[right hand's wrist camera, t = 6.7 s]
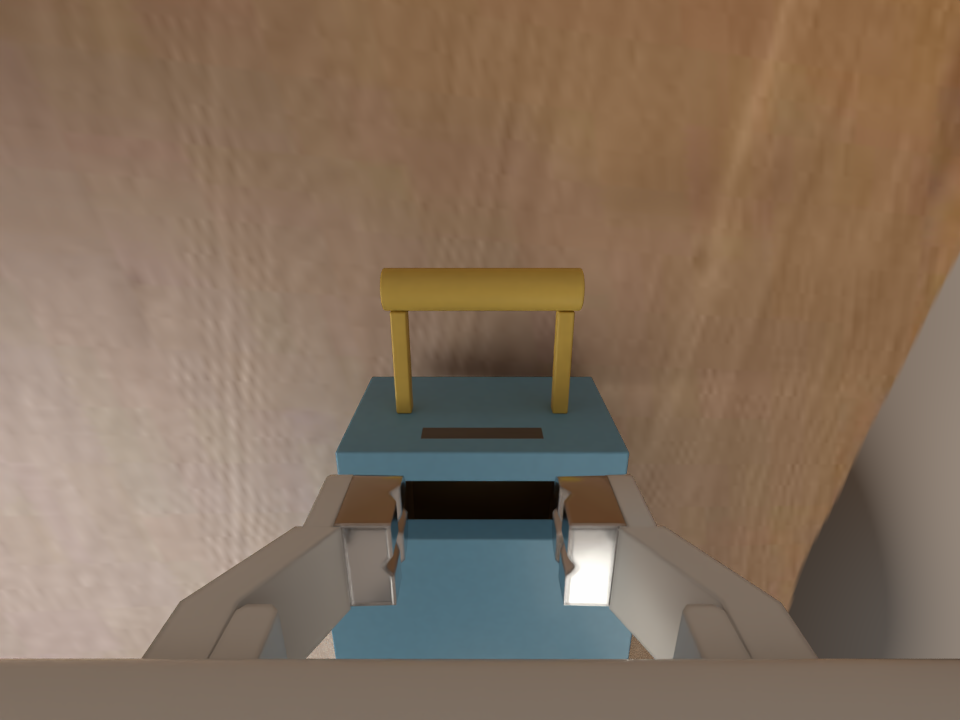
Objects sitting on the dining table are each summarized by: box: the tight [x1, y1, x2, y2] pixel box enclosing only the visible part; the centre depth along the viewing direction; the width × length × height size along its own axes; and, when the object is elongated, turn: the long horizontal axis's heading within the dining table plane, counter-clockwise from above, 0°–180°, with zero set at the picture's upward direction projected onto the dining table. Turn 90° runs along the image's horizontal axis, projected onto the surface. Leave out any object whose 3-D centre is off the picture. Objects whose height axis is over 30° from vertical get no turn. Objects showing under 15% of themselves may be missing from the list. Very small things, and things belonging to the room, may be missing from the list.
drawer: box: [336, 268, 629, 519], centre depth 23 cm, size 25×10×6 cm, turn 0°
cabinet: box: [332, 519, 632, 659], centre depth 25 cm, size 21×11×9 cm, turn 0°
